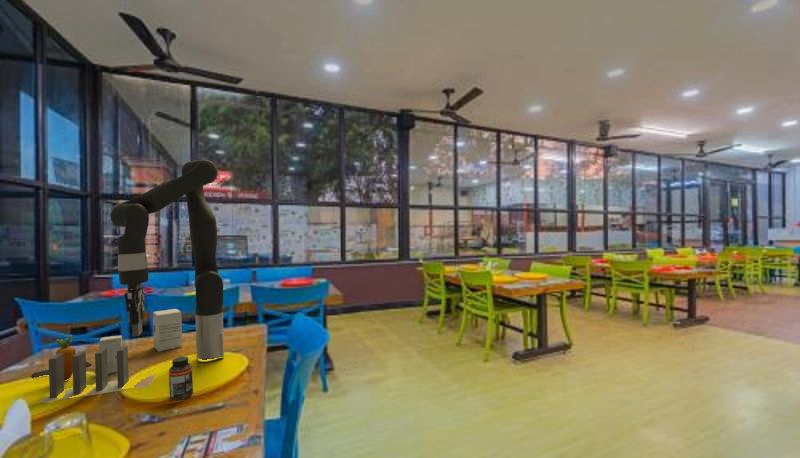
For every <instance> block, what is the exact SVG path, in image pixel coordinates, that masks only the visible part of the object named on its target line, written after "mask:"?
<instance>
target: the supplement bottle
mask: <svg viewBox="0 0 800 458" xmlns="http://www.w3.org/2000/svg"><path fill="white" fill-rule="evenodd" d="M193 383H194V381H193V365H192V363H190V362H189V357H188V356H186V355H185V356H177V357H175V358H173V359H172V365H171V366H170V368H169V369H168V385H169V399H170V400H172V401H183V400H185V399H189V398H190V397H191V396H193V392H194V385H193Z"/></svg>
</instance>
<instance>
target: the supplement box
mask: <svg viewBox="0 0 800 458" xmlns="http://www.w3.org/2000/svg"><path fill="white" fill-rule="evenodd" d="M182 321H183V320H182V312H181V311H180V310H179V309H177V308H172V309H166V310H157V311H153V312H152V322H153V347H154V349H155V350H156V351H157V352H159V353H160V352H164V351H168V350H172V349H177V347H178V348H181V347H183V332H182V331H183V330H182V327H183V325H182V323H183V322H182Z"/></svg>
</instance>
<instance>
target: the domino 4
mask: <svg viewBox="0 0 800 458" xmlns="http://www.w3.org/2000/svg"><path fill="white" fill-rule="evenodd" d="M136 301H137V299H136ZM131 307H134V304H132V305H131ZM131 332H132V333H131V335H132V338H134V337H139V336H140V335H141V334H142V333H143V319H142V318H141V304H139V323H138V324H133V325H131Z"/></svg>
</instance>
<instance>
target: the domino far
mask: <svg viewBox="0 0 800 458" xmlns="http://www.w3.org/2000/svg"><path fill="white" fill-rule="evenodd" d="M48 370H49V376H48V380H49V381H48V383H49V384H48V385H49V394H50V398H56V397H57V396H58V395H59V394H60V393H62V392H63V391H64V388H65V381H64V360H63V353H62V354H56V353H55V355H53V356H52V357H50V358H49V359H48Z"/></svg>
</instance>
